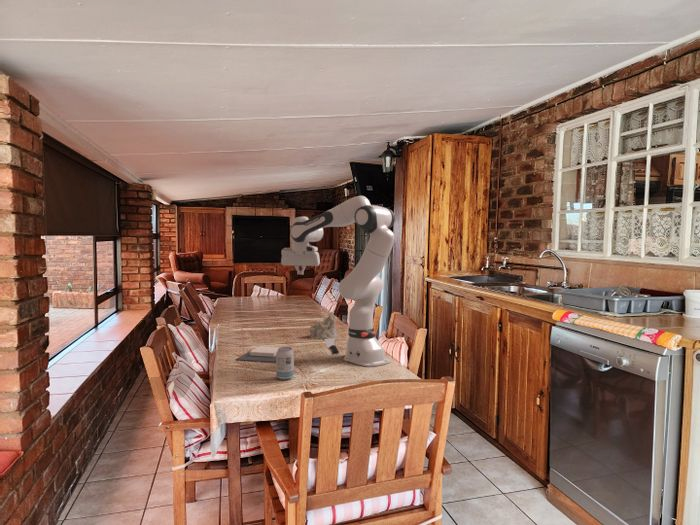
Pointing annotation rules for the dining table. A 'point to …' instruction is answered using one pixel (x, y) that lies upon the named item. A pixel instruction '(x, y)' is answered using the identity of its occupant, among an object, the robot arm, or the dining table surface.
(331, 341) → the kitchen cleaver
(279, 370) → the beverage can
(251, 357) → the mat
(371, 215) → the robot arm
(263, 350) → the tile
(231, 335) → the dining table surface
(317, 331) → the jagged grey rock
